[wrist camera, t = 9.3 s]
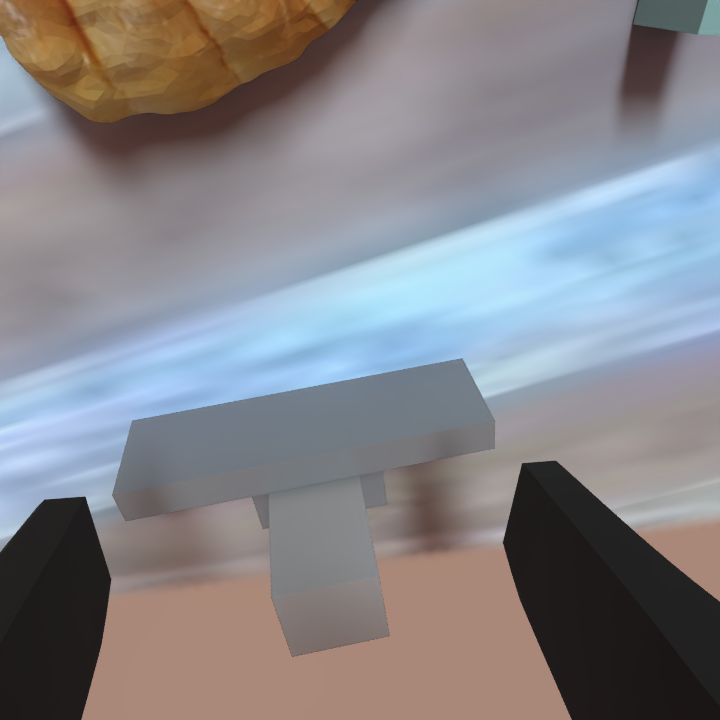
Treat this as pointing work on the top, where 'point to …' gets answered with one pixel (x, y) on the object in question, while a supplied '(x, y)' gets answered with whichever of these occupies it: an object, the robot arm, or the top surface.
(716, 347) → the top surface
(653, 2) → the bay
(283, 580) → the pusher
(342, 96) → the top surface
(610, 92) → the top surface
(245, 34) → the pastry
